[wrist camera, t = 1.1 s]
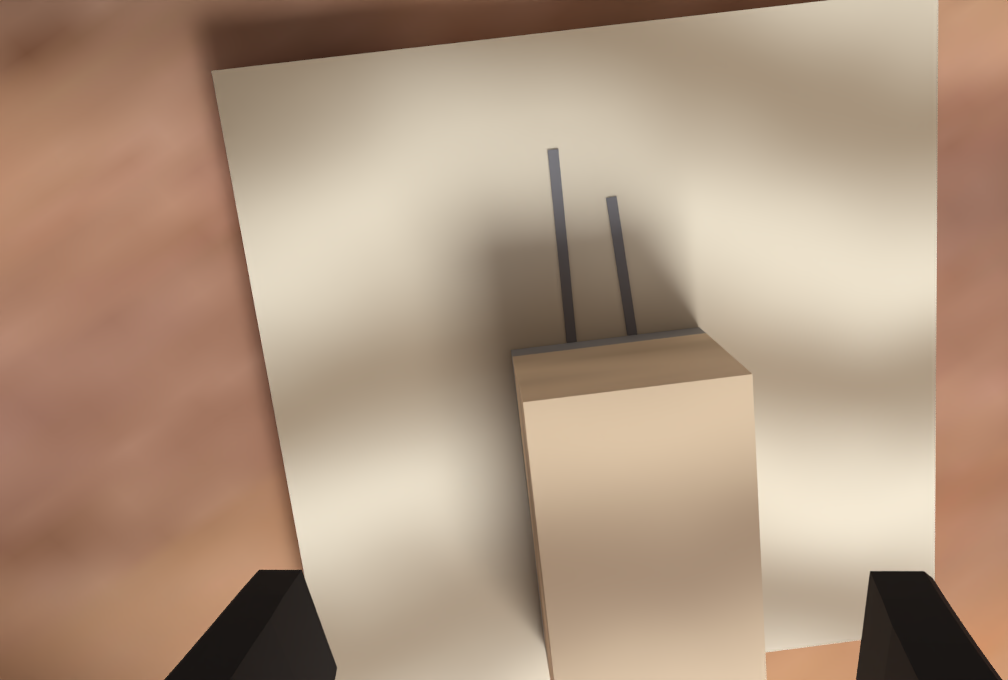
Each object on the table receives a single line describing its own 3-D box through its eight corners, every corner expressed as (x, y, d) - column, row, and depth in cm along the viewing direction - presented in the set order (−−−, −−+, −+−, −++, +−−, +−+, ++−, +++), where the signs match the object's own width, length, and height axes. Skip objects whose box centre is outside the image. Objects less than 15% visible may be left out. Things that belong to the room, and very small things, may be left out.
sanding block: (717, 625, 23) (768, 726, 20) (544, 647, 23) (562, 754, 19) (699, 326, 21) (752, 373, 18) (510, 350, 21) (523, 402, 18)
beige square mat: (912, 606, 25) (934, 631, 24) (335, 680, 25) (328, 710, 23) (911, -6, 21) (939, -13, 20) (224, 73, 21) (211, 70, 20)
